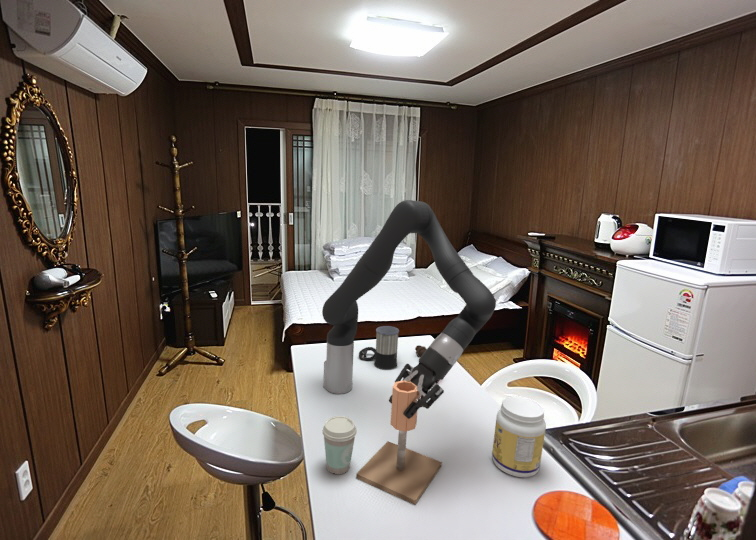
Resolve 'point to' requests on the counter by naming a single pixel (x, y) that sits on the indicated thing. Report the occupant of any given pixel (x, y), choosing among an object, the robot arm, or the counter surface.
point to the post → (400, 470)
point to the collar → (403, 405)
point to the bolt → (420, 350)
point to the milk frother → (384, 348)
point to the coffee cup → (339, 443)
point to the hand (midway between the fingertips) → (398, 409)
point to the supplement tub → (519, 436)
